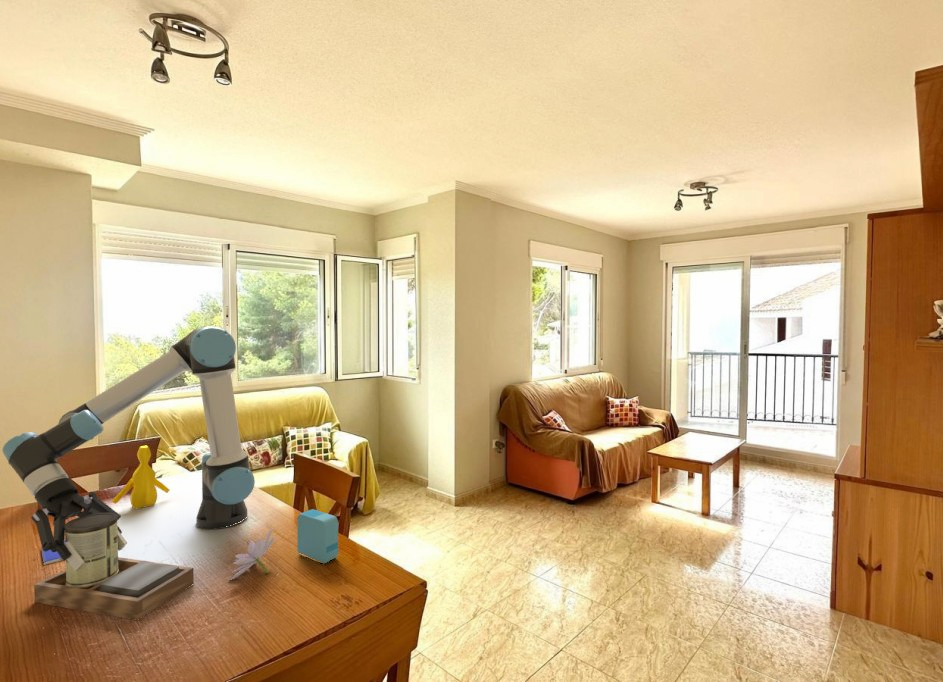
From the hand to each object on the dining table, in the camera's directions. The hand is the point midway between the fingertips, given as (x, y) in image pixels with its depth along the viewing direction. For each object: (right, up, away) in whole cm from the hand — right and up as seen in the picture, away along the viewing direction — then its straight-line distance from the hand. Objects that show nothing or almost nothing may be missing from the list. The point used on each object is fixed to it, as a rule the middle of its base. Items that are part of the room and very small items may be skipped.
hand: (102, 556), depth 117 cm
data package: (+46, -8, +18) cm, 51 cm away
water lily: (+32, -9, +10) cm, 34 cm away
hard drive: (-27, -9, +20) cm, 35 cm away
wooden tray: (+4, -8, -1) cm, 9 cm away
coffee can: (-3, -6, +1) cm, 6 cm away
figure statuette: (-29, -7, +56) cm, 64 cm away
